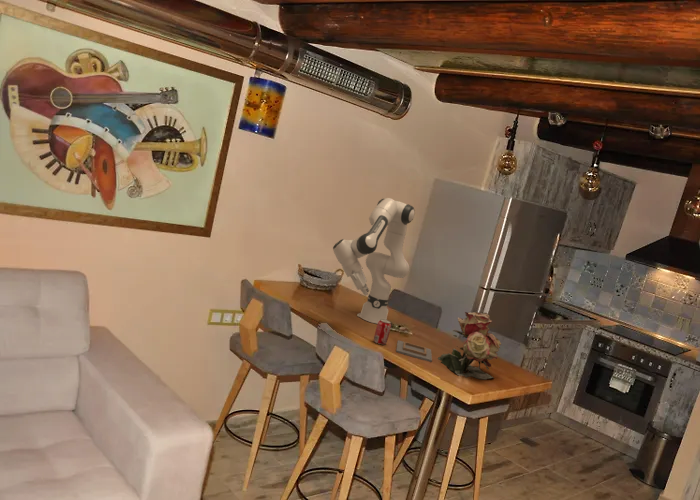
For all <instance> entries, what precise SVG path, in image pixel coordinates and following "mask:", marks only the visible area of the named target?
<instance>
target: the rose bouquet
mask: <svg viewBox="0 0 700 500" xmlns="http://www.w3.org/2000/svg"><path fill="white" fill-rule="evenodd" d="M464 314H465V318H461V317H457V320H458V321H457V322H458V324H459V327H460V330H461V331H460V330H456V329H453V330H452V332H455V333H457V334H459V335H462V336H460V337H462V338H466V341H464V342H463V345H462V346H463V347H458V346H456V347H457V348H459V350H461V351H462V352H461V351H459V350H457V349H456V348H452V352H451V353H450V352H449V353H442V354H441V355H440V356H438V358H437V360H438V361H440V363H442V365H444V366H445V367H447V368H448V369H449V370H450V371H451V372H453V373H455V374H456V375H457V376H460V377H465V378H467V377H473V378H474V379H478V380H487V379H493V380H494V379H495V377H494V376H492V375H490V374H489V373H487V372H485V371H483V370H482V369H481V364H483V365H484V366H485V369H486V370H488V371H489V370H490V369H489V368H490V367H492V363H490V361H491V360H493V359H496V360H497V359H498V356H497V355H498V352H499V351H500V349H501V347H500V346H501V345H502V343H501V341H500V339H498V338H497V337H495V335H494V334H493V333H490V332H489V331H490V330H491V329H490V326H489V325H491V323H492V322H493V320H492V319H490V315H489V313H487V312H478V311H474V312H467V311H464ZM457 334H453V336H454V337H455V338H457V337H458V335H457ZM474 361H476V362H477V363H478V364H479V365H478V366H472V365H471V364H472V363H473V362H474ZM467 371H468V372H467Z"/></svg>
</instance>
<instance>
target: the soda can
mask: <svg viewBox="0 0 700 500" xmlns="http://www.w3.org/2000/svg"><path fill="white" fill-rule="evenodd" d="M391 323H392V322H391V321H390V320H389V319H387V320H385V319H380V321H379V322H378V324H377V325H376V328H375V331H374V336H373V342H374V343H375V344H377V343H378V344H377V345H380V344H382V345H381V346H384V345H386V344H387V343H388V339H389V336H390V333H391V330H392V329H391V328H392V324H391Z"/></svg>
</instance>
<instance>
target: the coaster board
mask: <svg viewBox="0 0 700 500" xmlns="http://www.w3.org/2000/svg"><path fill="white" fill-rule="evenodd" d="M395 350H396V351H395V352H396V353H397V352H398V354H400V355H404V356H407V357H412V358H415V359H419V360H422V361H426V362H430V363H432V362H433V357H432V349H431V348H427V347H426V346H421V345H418V344H414V343H412V342H408V341H403V340H397V343H396V349H395Z"/></svg>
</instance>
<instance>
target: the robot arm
mask: <svg viewBox="0 0 700 500" xmlns="http://www.w3.org/2000/svg"><path fill="white" fill-rule="evenodd" d="M415 214H416V210H415V208H414V206H413V205H411V204H407V203H405V202H403V201H399V200H394V199H393V198H391V197H385V198H381V199H380V200H378V202H377V204H376V206H375V207H374V209H373V210H372V212H371V213H370V215H369V217H368V220H369V223H370V226H371V227H370V229H369V230H368V231H367V232H366V233H363V234H361V235H360V236H359V237H357V238H355V239H345V238H342V239H340V240H339V241H337V242H336V243H334V244H333V247H332V250H333V253H334V256H335V257H336V259H337V262H339V264H341V267H342V269H343V271H344V273H345V274H346V277H347V278H348V277H349V278H350V279H351V280H352V282H353V285H354V286H355V288H356V289H357V290H360V291H361V292H362V294H363V295H364V297H365V296H367V295H368V296H367V299H366V300H367V301H365V302H363V305H362V309H361V312H358V313H357V317H358V318H361V319H363V321H366V322H369V323H372V324H378V322H379V321H380V319H385V320H388V313H389V309H388V307H387V306H388V304H389V298H390V293H391V289H392V286H391V284H390V282H389V281H387V280H386V278H385V275H387V276H390V277H393V278H399V279H404V278H405V277H407V276H408V274H409V273H410V265H409V263H408V262H409V261H407V260H406V257H405V254H404V251H403V249H404V248H403V247H404V243H405V242H404V241H405V238H406V234H407V228H408V224H410V223H411V222H413V220H414V218H415ZM385 230H386V232H385V235H384V240H383V244H384V246H385V248H386V249H388V251H389V252H390V255H389V254H384V253H382V252H376V250H377V247H378V241H379V239H380V237H381V236H382V234H383V233H384V231H385ZM365 256H366V258H365V265H366V267H367V269H368V270H369V272H370V274H371V279H372V281H371V287H370V289H369V288H368V284H367V281H368V279H367V278H366V275H365V273H364V271H363V266H362V264H361V263H360V260H359V259H361V258H363V257H365Z"/></svg>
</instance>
